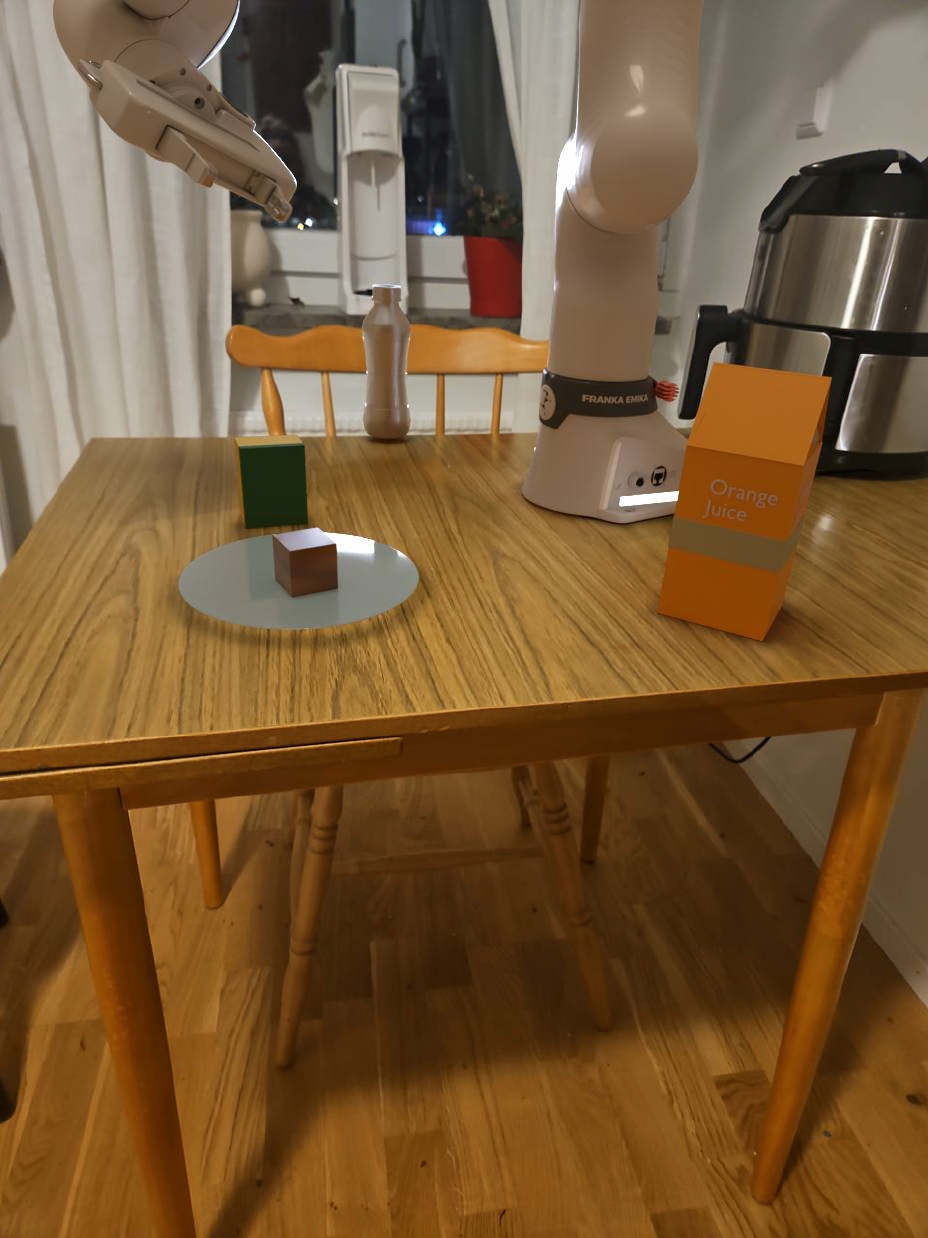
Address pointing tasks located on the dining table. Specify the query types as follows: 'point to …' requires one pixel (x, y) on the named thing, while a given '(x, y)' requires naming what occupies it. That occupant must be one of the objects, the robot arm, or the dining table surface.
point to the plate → (251, 596)
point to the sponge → (271, 480)
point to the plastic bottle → (386, 365)
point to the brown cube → (305, 561)
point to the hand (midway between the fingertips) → (248, 197)
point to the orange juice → (743, 497)
